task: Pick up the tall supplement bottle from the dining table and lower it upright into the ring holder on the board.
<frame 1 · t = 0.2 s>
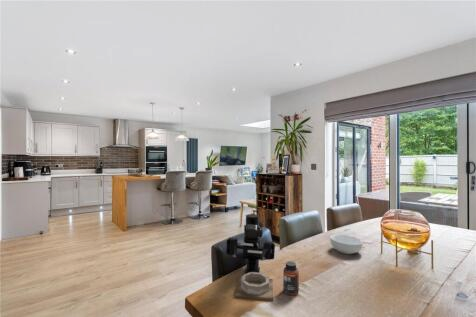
hand: (248, 257, 85), 17 cm above the table, tool horizontal, fingers open, 9 cm apart
cereal bowl: (345, 251, 136), on the table
supplement bottle: (290, 292, 94), on the table
ring holder: (255, 288, 95), on the table
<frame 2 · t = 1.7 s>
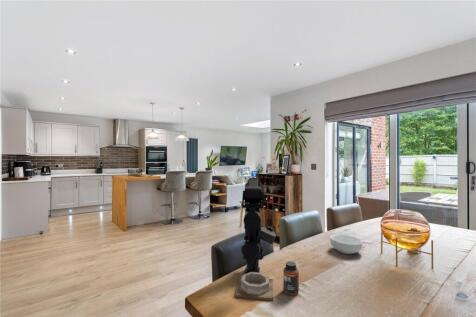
hand: (251, 263, 88), 13 cm above the table, tool pointing down, fingers open, 9 cm apart
nothing on the table moved.
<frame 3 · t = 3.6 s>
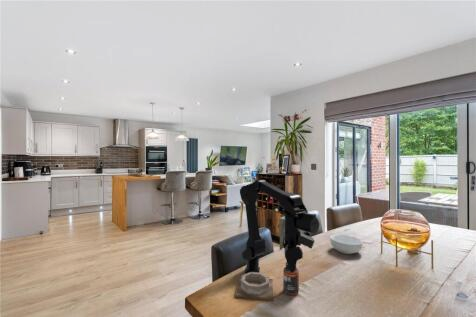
hand: (291, 266, 94), 10 cm above the table, tool pointing down, fingers open, 9 cm apart
nothing on the table moved.
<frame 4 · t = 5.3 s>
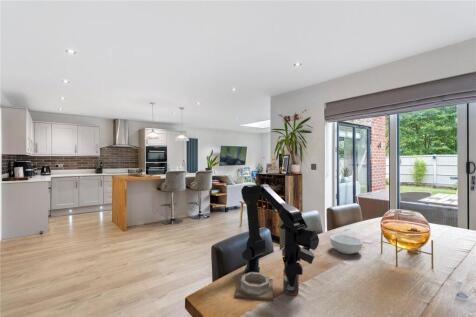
hand: (290, 281, 94), 4 cm above the table, tool pointing down, fingers closed on supplement bottle, 6 cm apart
supplement bottle: (290, 292, 94), on the table, touching gripper
everything else where it was.
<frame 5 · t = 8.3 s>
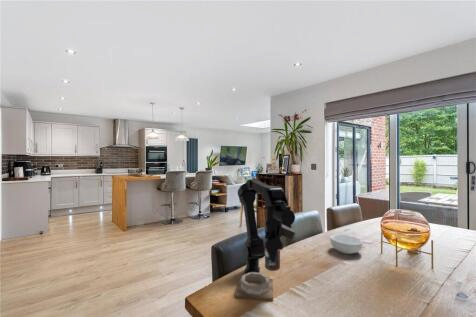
hand: (272, 258, 95), 13 cm above the table, tool pointing down, fingers closed on supplement bottle, 6 cm apart
supplement bottle: (272, 268, 95), point 9 cm above the table, touching gripper
everything else where it was.
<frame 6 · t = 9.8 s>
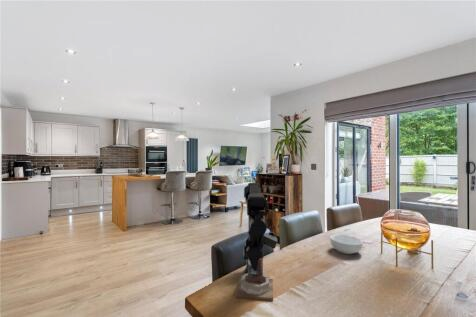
hand: (255, 266, 95), 9 cm above the table, tool pointing down, fingers closed on supplement bottle, 6 cm apart
supplement bottle: (255, 276, 95), point 5 cm above the table, touching gripper
everything else where it was.
when the fingers open (6 cm above the table, at t = 11.3 s): supplement bottle stays where it is, resting on ring holder.
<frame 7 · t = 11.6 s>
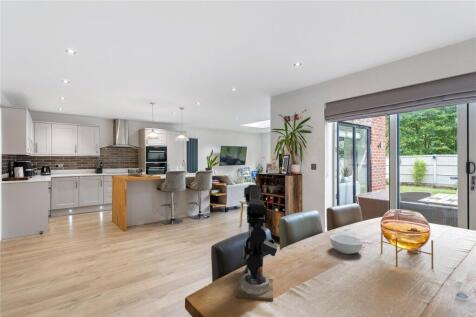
hand: (255, 273, 95), 6 cm above the table, tool pointing down, fingers open, 8 cm apart
supplement bottle: (255, 286, 96), point 1 cm above the table, touching ring holder
everything else where it was.
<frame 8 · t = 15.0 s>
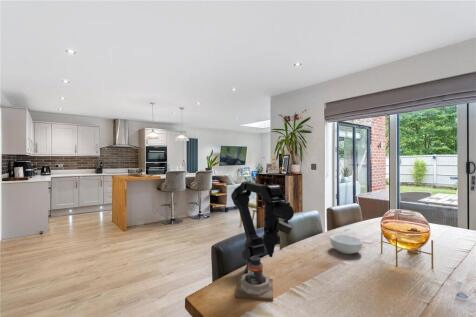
hand: (270, 252, 99), 13 cm above the table, tool pointing down, fingers open, 9 cm apart
nothing on the table moved.
at the end: supplement bottle 0.2 cm from the ring holder (horizontally); supplement bottle point 0.8 cm above the table; supplement bottle tilted 0° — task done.
